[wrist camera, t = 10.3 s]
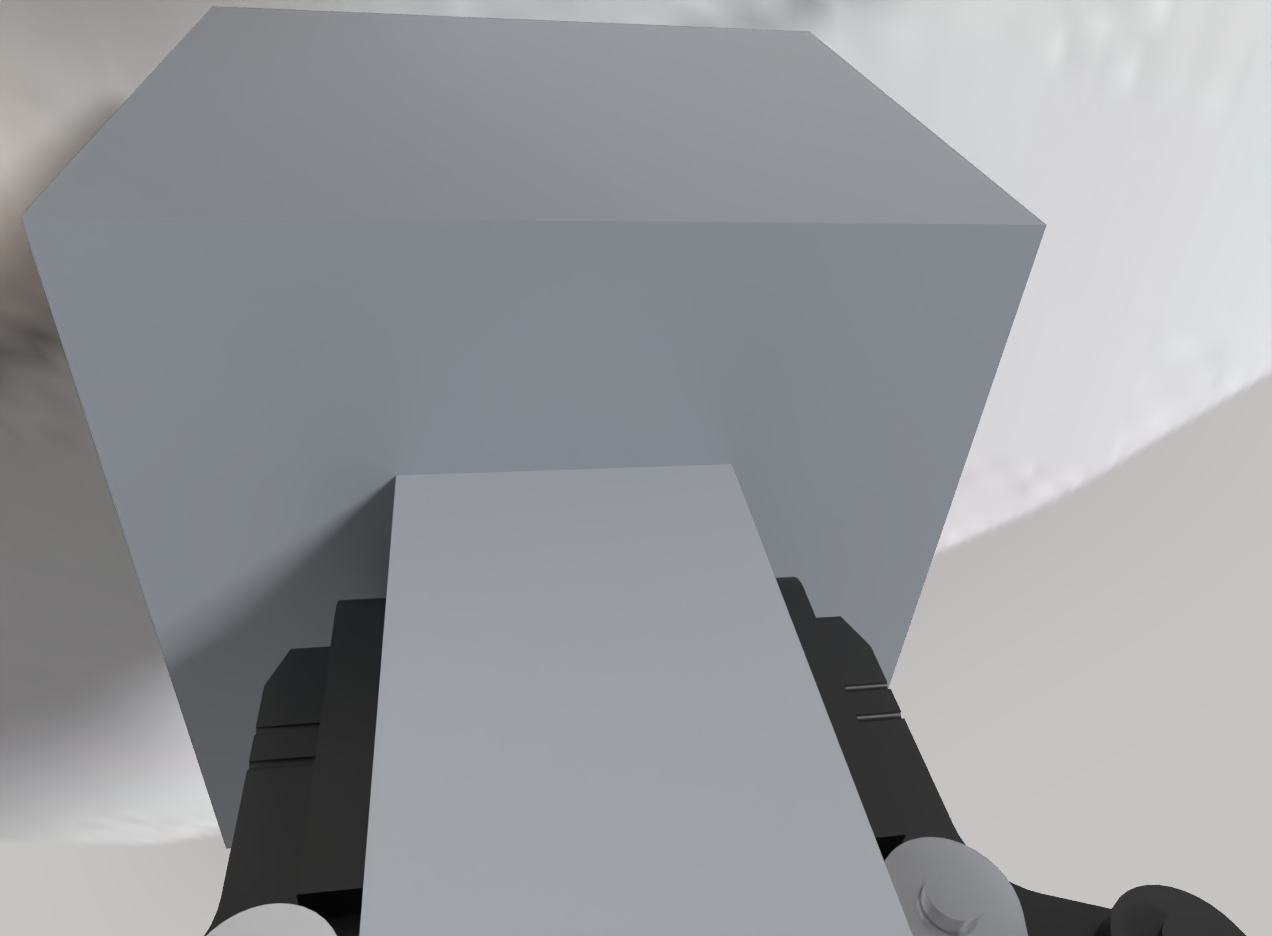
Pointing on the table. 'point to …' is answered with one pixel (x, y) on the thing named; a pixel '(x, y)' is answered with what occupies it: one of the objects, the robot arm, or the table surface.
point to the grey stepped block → (538, 433)
